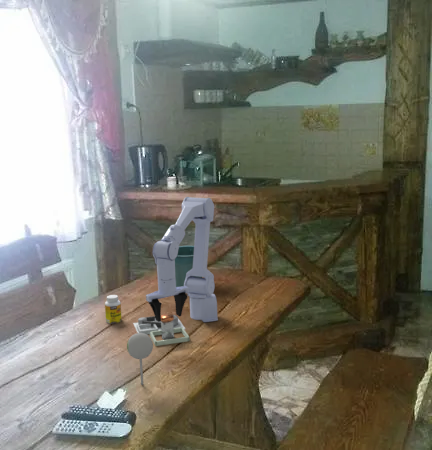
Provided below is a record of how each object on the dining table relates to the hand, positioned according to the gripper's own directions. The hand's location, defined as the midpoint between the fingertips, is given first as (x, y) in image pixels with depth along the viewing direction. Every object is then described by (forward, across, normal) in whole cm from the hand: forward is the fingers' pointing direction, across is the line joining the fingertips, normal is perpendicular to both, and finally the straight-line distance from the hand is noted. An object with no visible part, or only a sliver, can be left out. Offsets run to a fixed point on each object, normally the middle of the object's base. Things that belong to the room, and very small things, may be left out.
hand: (168, 317), depth 197 cm
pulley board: (+8, -2, -12) cm, 14 cm away
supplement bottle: (+8, +8, -26) cm, 29 cm away
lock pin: (+8, 0, -1) cm, 8 cm away
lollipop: (+8, +21, +22) cm, 32 cm away
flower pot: (+9, -35, -46) cm, 58 cm away
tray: (+8, 0, 0) cm, 8 cm away
